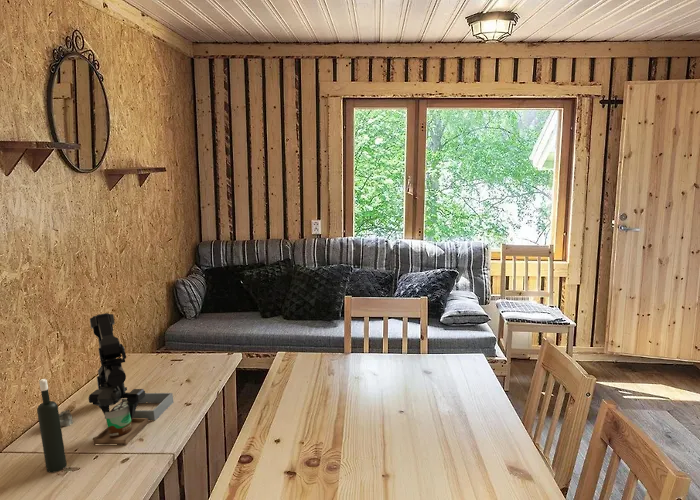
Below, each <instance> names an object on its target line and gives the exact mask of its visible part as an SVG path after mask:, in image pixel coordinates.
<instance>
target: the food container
mask: <svg viewBox="0 0 700 500" xmlns="http://www.w3.org/2000/svg"><path fill="white" fill-rule="evenodd" d="M127 403H128V401H127V398H122V399H121V402H119V403H118V404H116V405H115V406H113V407H112V409H111V410H109V411H110V412H105V415H104V419H105V421H106V425H107V427H108V430H109V435H110V438H115V437H120V436H123V435H126V434H127V433H129V432H130V431H131V430H132V423H131V417H130V410H129V405H128V404H127Z"/></svg>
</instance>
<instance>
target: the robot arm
mask: <svg viewBox="0 0 700 500" xmlns="http://www.w3.org/2000/svg"><path fill="white" fill-rule="evenodd" d="M89 324H90V329H92V331H93V335H95V336H96V337H97V341H98V346H99V347H98V355H99V360H100V367H98V368H99V369H98V370H97V374H98V375H97V376H96V382H97V383H96V384H97V387H98V388H97V389H96V390H94V391H92V392H91V393H90V394H89V395H88V403H90V404H92V405H95V406H97V407H99V409H100V410H101V411H102V414H103V415H104V416H105V412H110V411H111V410H110V406H112V405H115V404H117V403H118V402H119V401H120V400H122V399H127V401H128V403H127V404H128V405H129V410H130V417H131V419H132V418H133V417H134V414H135V411H136V410H137V407H138V404H139V403H138V402H139V401H140V400H141V399H142V398H144V397H145V396H146V395H145V393H146V391H145V390H144V388H133V389H132V390H131V391H130V392H126V391H128V387H125V386H126V385H125V381H126V377H127V375H126V372H125V370H124V368H123V366H122V364H123V363H126V359H127V353H126V350H125V346H124V345H123V343H121V342H120V340H119V338H118V337H116V336H115V335H114V332H113V331H114V325H115V324H116V322H115V316H114V314H112V313H108V312H105V313H101V314H96V315H93V316H91V317H90V318H89Z"/></svg>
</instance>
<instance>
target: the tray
mask: <svg viewBox="0 0 700 500" xmlns="http://www.w3.org/2000/svg"><path fill="white" fill-rule="evenodd" d="M131 423H132V430H131V431H130V432H129V433H127V434H126V435H123V436H120V437H115V438H110V435H109V430H108V426H107V427H106V428H104V429H103V430H102V431H101V432H100V433H99V434H98V435H97V436H95V437H94V438H93V439H92V442H93V446H96V445H95V444H117V445H116V446H127V445H128V444H129V443H130V442H131V441H132V440H133V439H134V438H136V436H138V435H139V433H140V432H141V431H143V430H144V429H145V427H146V426H147V425H148V424H149V423H150V421H148V418H132V419H131Z"/></svg>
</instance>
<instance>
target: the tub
mask: <svg viewBox="0 0 700 500" xmlns="http://www.w3.org/2000/svg"><path fill="white" fill-rule="evenodd" d="M145 395H146V396H145V397H144V398H142V399H141V400H140V401H139V402H138V404H158V405H157V406H156V407H155V408H153V409H146V410H143V409H138V410H137V409H136V411H135V414H134V417H133V418H148V420H154V421H153V422H155V421H157V420H158V419H159V418H160V417H161V415H163V413H165V412H166V411H167V409H169V407H170V406H171V405H172V404H173V403H174V395H173V392H145ZM146 402H148V403H146ZM150 402H151V403H150Z"/></svg>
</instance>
